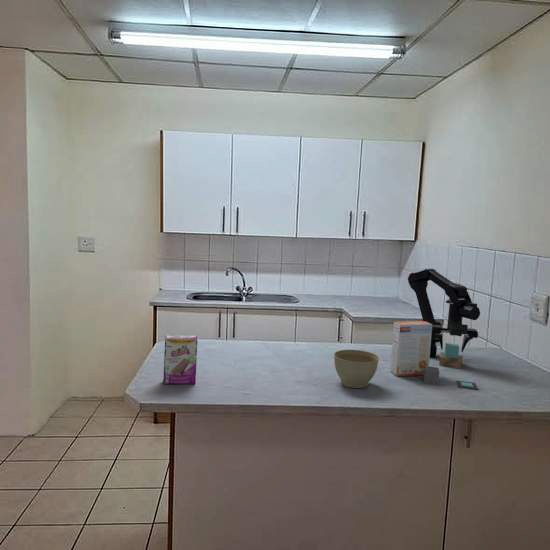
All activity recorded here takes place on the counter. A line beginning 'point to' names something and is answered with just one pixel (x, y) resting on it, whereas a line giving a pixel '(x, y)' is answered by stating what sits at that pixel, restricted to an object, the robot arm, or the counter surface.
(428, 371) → the charcoal cube
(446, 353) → the teal cube
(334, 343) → the counter surface
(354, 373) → the planter bowl
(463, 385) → the tile
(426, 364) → the cracker box
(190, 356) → the candy bar box
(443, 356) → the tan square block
